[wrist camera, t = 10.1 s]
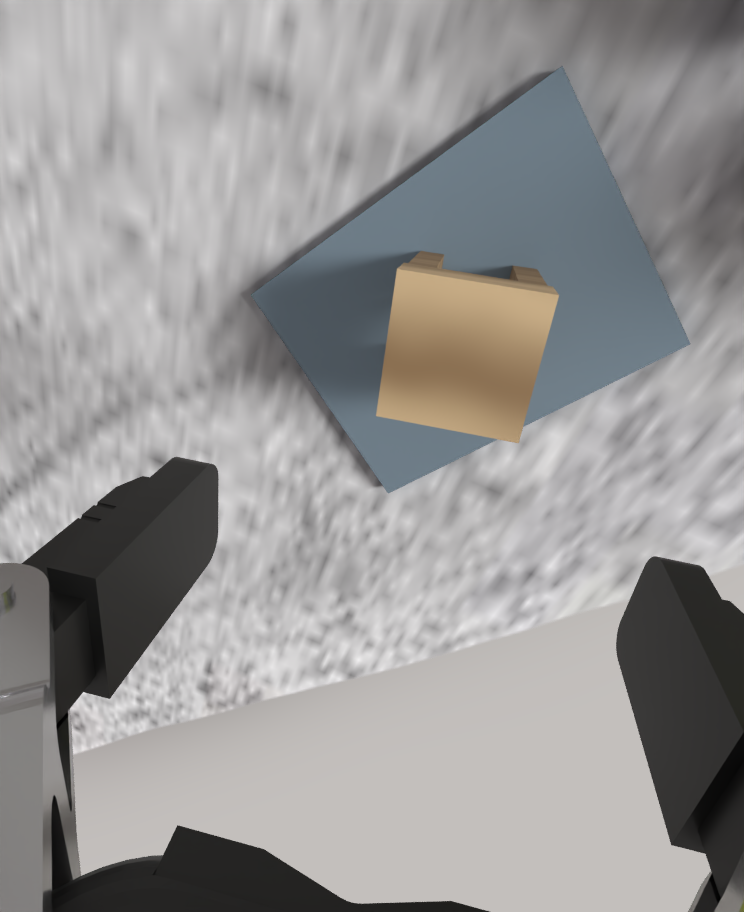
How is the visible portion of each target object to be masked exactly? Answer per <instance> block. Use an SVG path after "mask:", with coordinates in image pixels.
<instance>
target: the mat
mask: <svg viewBox="0 0 744 912" xmlns="http://www.w3.org/2000/svg"><path fill="white" fill-rule="evenodd" d="M420 251H425V252H431V253H438V254H444V260H443V265H442V269H447V270H453V271H459V272H465V273H472V274H478V275H484V276H490V277H496V278H503V279H510V274H511V270H512V266H513V265H514V266H520V267H526V268H533V269H537V270H538V271H539V273H540V274H541V276H542V278H543V279H544V281H545V282H546V284H547V285H548V286H552V287H554V289H555V290H556V292H557V293H558V294H559V298H558V301H557V305H556V308H555V312H554V316H553V319H552V323H551V327H550V330H549V334H548V338H547V341H546V345H545V348H544V352H543V356H542V359H541V363H540V367H539V370H538V374H537V378H536V381H535V385H534V389H533V392H532V396H531V399H530V403H529V407H528V410H527V414H526V418H525V421H524V425H523V427H524V426H526V425H528V424H530V423H532V422H534V421H536V420H538V419H540V418H542V417H544V416H546V415H548V414H550V413H552V412H554V411H556V410H558V409H560V408H562V407H564V406H566V405H568V404H570V403H572V402H574V401H576V400H578V399H580V398H582V397H584V396H586V395H588V394H590V393H592V392H594V391H596V390H599V389H601V388H603V387H605V386H607V385H609V384H611V383H613V382H615V381H617V380H619V379H621V378H623V377H625V376H627V375H629V374H631V373H633V372H635V371H637V370H639V369H641V368H643V367H645V366H647V365H649V364H651V363H653V362H655V361H657V360H659V359H661V358H663V357H665V356H667V355H669V354H671V353H673V352H675V351H677V350H679V349H681V348H683V347H686V346H688V345H690V342H689V340H688V338H687V336H686V333H685V331H684V329H683V327H682V325H681V323H680V320H679V318H678V316H677V314H676V312H675V309H674V307H673V305H672V303H671V301H670V299H669V296H668V294H667V292H666V290H665V288H664V286H663V283H662V281H661V279H660V277H659V275H658V273H657V270H656V268H655V266H654V264H653V262H652V260H651V257H650V255H649V253H648V251H647V249H646V247H645V244H644V242H643V240H642V238H641V236H640V234H639V231H638V229H637V227H636V225H635V223H634V220H633V218H632V216H631V214H630V212H629V210H628V207H627V205H626V203H625V201H624V199H623V197H622V194H621V192H620V190H619V188H618V186H617V184H616V181H615V179H614V177H613V175H612V173H611V171H610V168H609V166H608V164H607V162H606V160H605V158H604V155H603V153H602V151H601V149H600V147H599V145H598V142H597V140H596V138H595V136H594V134H593V131H592V129H591V127H590V125H589V123H588V121H587V118H586V116H585V114H584V112H583V110H582V108H581V105H580V103H579V101H578V99H577V97H576V95H575V92H574V90H573V88H572V86H571V84H570V82H569V79H568V77H567V75H566V73H565V71H564V69H563V66H561V67H560V68H559V69H557V70H556V71H555V72H553V73H552V74H551V75H549V76H548V77H546V78H545V79H544V80H542V81H541V82H540V83H538V84H537V85H536V86H534V87H533V88H531V89H530V90H529V91H527V92H526V93H525V94H523V95H522V96H521V97H519V98H518V99H517V100H515V101H514V102H512V103H511V104H510V105H508V106H507V107H506V108H504V109H503V110H502V111H500V112H499V113H497V114H496V115H495V116H493V117H492V118H491V119H489V120H488V121H487V122H485V123H484V124H483V125H481V126H480V127H478V128H477V129H476V130H474V131H473V132H472V133H470V134H469V135H468V136H466V137H465V138H463V139H462V140H461V141H459V142H458V143H457V144H455V145H454V146H453V147H451V148H450V149H448V150H447V151H446V152H444V153H443V154H442V155H440V156H439V157H438V158H436V159H435V160H434V161H432V162H431V163H429V164H428V165H427V166H425V167H424V168H423V169H421V170H420V171H419V172H417V173H416V174H414V175H413V176H412V177H410V178H409V179H408V180H406V181H405V182H404V183H402V184H401V185H400V186H398V187H397V188H395V189H394V190H393V191H391V192H390V193H389V194H387V195H386V196H385V197H383V198H382V199H380V200H379V201H378V202H376V203H375V204H374V205H372V206H371V207H370V208H368V209H367V210H365V211H364V212H363V213H361V214H360V215H359V216H357V217H356V218H355V219H353V220H352V221H351V222H349V223H348V224H346V225H345V226H344V227H342V228H341V229H340V230H338V231H337V232H336V233H334V234H333V235H331V236H330V237H329V238H327V239H326V240H325V241H323V242H322V243H321V244H319V245H318V246H317V247H315V248H314V249H312V250H311V251H310V252H308V253H307V254H306V255H304V256H303V257H302V258H300V259H299V260H297V261H296V262H295V263H293V264H292V265H291V266H289V267H288V268H287V269H285V270H284V271H283V272H281V273H280V274H278V275H277V276H276V277H274V278H273V279H272V280H270V281H269V282H268V283H266V284H265V285H263V286H262V287H261V288H259V289H258V290H257V291H255V292H254V293H253V294H251V296H252V298H253V299H254V300H255V302H256V303H257V305H258V306H259V308H260V309H261V311H262V312H263V313H264V315H265V316H266V318H267V319H268V321H269V322H270V323H271V325H272V326H273V328H274V329H275V331H276V332H277V334H278V335H279V336H280V338H281V339H282V341H283V342H284V344H285V345H286V347H287V348H288V349H289V351H290V352H291V354H292V355H293V357H294V358H295V360H296V361H297V362H298V364H299V365H300V367H301V368H302V370H303V371H304V373H305V374H306V375H307V377H308V378H309V380H310V381H311V383H312V384H313V386H314V387H315V388H316V390H317V391H318V393H319V394H320V396H321V397H322V399H323V400H324V401H325V403H326V404H327V406H328V407H329V409H330V410H331V412H332V413H333V414H334V416H335V417H336V419H337V420H338V422H339V423H340V425H341V426H342V427H343V429H344V430H345V432H346V433H347V435H348V436H349V438H350V439H351V440H352V442H353V443H354V445H355V446H356V448H357V449H358V451H359V452H360V453H361V455H362V456H363V458H364V459H365V461H366V462H367V464H368V465H369V466H370V468H371V469H372V471H373V472H374V474H375V475H376V477H377V478H378V479H379V481H380V482H381V484H382V485H383V487H384V488H385V489H386V491H387V492H388V493H390V492H392V491H394V490H396V489H398V488H400V487H402V486H404V485H406V484H408V483H410V482H412V481H414V480H416V479H418V478H420V477H422V476H424V475H427V474H429V473H431V472H433V471H435V470H437V469H439V468H441V467H443V466H445V465H447V464H449V463H451V462H453V461H455V460H457V459H459V458H461V457H463V456H465V455H467V454H469V453H471V452H473V451H475V450H477V449H479V448H481V447H483V446H485V445H487V444H489V443H491V442H493V441H495V440H497V439H494V438H489V437H484V436H478V435H473V434H468V433H463V432H457V431H452V430H447V429H442V428H436V427H431V426H426V425H421V424H415V423H410V422H405V421H400V420H394V419H389V418H384V417H379V416H376V412H377V405H378V398H379V391H380V384H381V377H382V370H383V363H384V356H385V349H386V342H387V335H388V328H389V321H390V314H391V307H392V300H393V293H394V286H395V279H396V272H397V268H399V267H400V266H401V265H402V264H403V263H409V262H410V261H411V260H412V259H413V258H414V257H415V256H416V255H417V254H418V253H419V252H420Z"/></svg>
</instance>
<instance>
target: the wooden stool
mask: <svg viewBox="0 0 744 912" xmlns="http://www.w3.org/2000/svg"><path fill="white" fill-rule="evenodd" d="M443 260H444V254H438V253H431V252H425V251H420V252H419V253H418V254H417V255H416V256H415V257H414V258H413V259H412V260H411V261H410V262H409V263H403V264H402V265H401V266H400V267H399V268H397V272H396V279H395V286H394V293H393V300H392V307H391V314H390V321H389V328H388V335H387V342H386V349H385V356H384V363H383V370H382V377H381V384H380V391H379V398H378V405H377V412H376V416H379V417H384V418H389V419H394V420H400V421H405V422H410V423H415V424H421V425H426V426H431V427H436V428H442V429H447V430H452V431H457V432H463V433H468V434H473V435H478V436H484V437H489V438H494V439H499V440H505V441H510V442H515V443H519V439H520V436H521V432H522V429H523V425H524V421H525V418H526V414H527V410H528V407H529V403H530V399H531V396H532V392H533V389H534V385H535V381H536V378H537V374H538V370H539V367H540V363H541V359H542V356H543V352H544V348H545V345H546V341H547V338H548V334H549V330H550V327H551V323H552V319H553V316H554V312H555V308H556V305H557V301H558V298H559V294H558V293H557V292H556V290H555V289H554V287H552V286H548V285H547V284H546V282H545V281H544V279H543V278H542V276H541V274H540V273H539V271H538V270H537V269H533V268H526V267H520V266H514V265H513V266H512V270H511V274H510V279H503V278H496V277H490V276H484V275H478V274H472V273H465V272H459V271H453V270H447V269H442V265H443Z"/></svg>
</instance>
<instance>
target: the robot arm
mask: <svg viewBox="0 0 744 912" xmlns="http://www.w3.org/2000/svg"><path fill="white" fill-rule="evenodd" d="M217 537H218V471H217V468H216V466H215V465H213V464H209V463H204V462H199V461H194V460H189V459H185V458H180V457H174V458H172V459H171V460H170V461H169V462H167V463H166V464H165V465H164V466H163V467H162V468H160V469H159V470H158V471H157V472H156V473H155V474H154V475H152V476H151V477H150V478H149V477H144V476H142V477H140V478H137V479H135V480H132V481H130V482H127V483H125V484H123V485H120V486H118V487H116V488H115V489H113V490H112V491H111V492H110V493H108V494H107V495H106V496H105V497H103V498H102V499H101V500H100V501H99V502H98V504H97V506H95V505H94V506H92V507H91V508H90V509H89V510H87V511H86V512H85V513H84V514H83V515H82V517H81V519H79V518H78V519H76V520H75V521H74V522H73V523H71V524H70V525H69V526H68V527H67V528H65V529H64V530H63V531H62V532H60V533H59V534H58V535H57V536H55V537H54V538H53V539H52V540H51V541H49V542H48V543H47V544H46V545H44V546H43V547H42V548H41V549H39V550H38V551H37V552H36V553H34V554H33V555H32V556H31V557H30V558H28V559H27V560H26V561H25V562H23V563H22V564H18V563H1V564H0V912H489V911H485V910H481V909H478V908H474V907H470V906H467V905H463V904H460V903H456V902H452V901H442V902H408V903H407V902H406V903H373V904H357V903H351V902H348V901H346V900H344V899H342V898H340V897H338V896H337V895H335V894H334V893H332V892H331V891H329V890H327V889H326V888H324V887H323V886H321V885H319V884H318V883H316V882H315V881H313V880H312V879H310V878H308V877H307V876H305V875H303V874H302V873H300V872H299V871H297V870H296V869H294V868H293V867H291V866H289V865H287V864H286V863H284V862H283V861H281V860H280V859H278V858H277V857H275V856H273V855H272V854H270V853H269V852H267V851H266V850H264V849H261V848H257V847H254V846H250V845H247V844H243V843H239V842H236V841H232V840H228V839H225V838H221V837H217V836H214V835H210V834H207V833H203V832H199V831H195V830H192V829H189V828H185V827H181V826H177V828H176V830H175V832H174V834H173V836H172V838H171V841H170V842H169V844H168V847H167V848H166V851H165V853H164V855H163V856H162V855H161V856H148V857H142V858H136V859H129V860H125V861H122V862H118V863H115V864H111V865H108V866H105V867H102V868H99V869H97V870H94V871H92V872H90V873H87V874H85V875H82V876H81V871H80V863H79V862H80V861H79V853H78V844H77V833H76V815H75V792H74V769H73V747H72V725H71V715H70V708H71V706H72V705H73V704H74V703H75V701H76V700H77V699H78V698H79V696H80V695H81V694H82V693H83V692H85V693H89V694H93V695H97V696H101V697H105V698H109V699H110V698H111V696H112V695H113V694H114V692H115V691H116V690H117V688H118V687H119V685H120V684H121V683H122V681H123V680H124V679H125V677H126V676H127V675H128V673H129V672H130V670H131V669H132V668H133V666H134V665H135V664H136V662H137V661H138V660H139V658H140V657H141V655H142V654H143V653H144V651H145V650H146V649H147V647H148V646H149V644H150V643H151V642H152V640H153V639H154V638H155V636H156V635H157V634H158V632H159V631H160V629H161V628H162V627H163V625H164V624H165V623H166V621H167V620H168V619H169V617H170V616H171V614H172V613H173V612H174V610H175V609H176V608H177V606H178V605H179V604H180V602H181V601H182V599H183V598H184V597H185V595H186V594H187V593H188V591H189V590H190V589H191V587H192V586H193V584H194V583H195V582H196V580H197V579H198V578H199V576H200V575H201V574H202V572H203V571H204V569H205V568H206V567H207V565H208V564H209V562H210V560H211V558H212V556H213V553H214V550H215V547H216V543H217ZM616 649H617V657H618V661H619V665H620V668H621V671H622V675H623V678H624V682H625V686H626V689H627V692H628V696H629V699H630V703H631V706H632V710H633V713H634V717H635V720H636V724H637V727H638V731H639V734H640V738H641V741H642V745H643V748H644V751H645V755H646V758H647V762H648V766H649V768H650V772H651V776H652V779H653V783H654V786H655V790H656V793H657V797H658V800H659V804H660V807H661V811H662V814H663V818H664V821H665V825H666V828H667V832H668V835H669V839H670V842H671V845H674V846H678V847H682V848H686V849H689V850H694V851H697V852H701V853H705V854H706V856H707V859H708V862H709V865H710V868H711V872H710V873H709V874H708V876H707V877H706V878H705V880H704V881H703V883H702V884H701V886H700V889H699V890H698V892H697V894H696V897H695V899H694V901H693V903H692V905H691V907H690V909H689V911H688V912H744V614H743V613H742V612H741V611H740V610H739V609H738V608H737V607H736V606H734V604H732V603H731V602H730V601H726V600H722V599H721V597H720V595H719V594H718V592H717V590H716V588H715V587H714V585H713V583H712V582H711V580H710V578H709V576H708V575H707V573H706V571H705V570H704V568H702V567H701V566H699V565H695V564H690V563H685V562H680V561H675V560H670V559H665V558H661V557H652V558H650V559H649V560H648V562H647V563H646V565H645V567H644V569H643V571H642V573H641V576H640V578H639V580H638V582H637V585H636V587H635V589H634V592H633V594H632V596H631V599H630V601H629V603H628V605H627V608H626V610H625V612H624V615H623V617H622V619H621V622H620V625H619V628H618V633H617V642H616Z"/></svg>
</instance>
